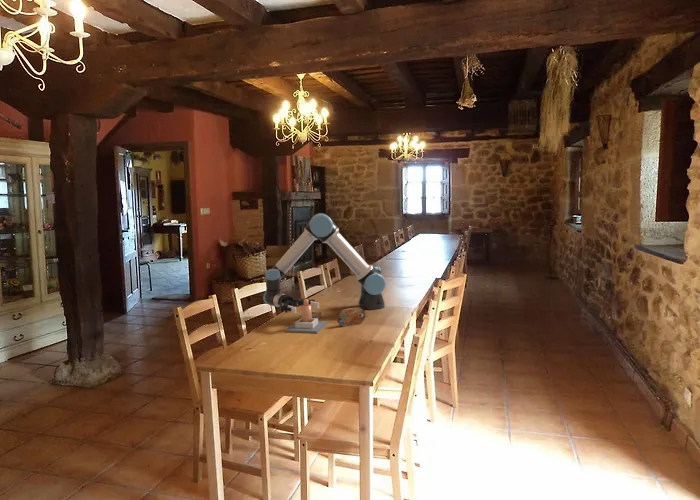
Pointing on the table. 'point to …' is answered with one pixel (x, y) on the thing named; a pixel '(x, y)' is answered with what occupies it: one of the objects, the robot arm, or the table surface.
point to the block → (315, 315)
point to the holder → (306, 326)
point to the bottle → (306, 312)
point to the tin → (350, 316)
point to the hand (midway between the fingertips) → (307, 308)
